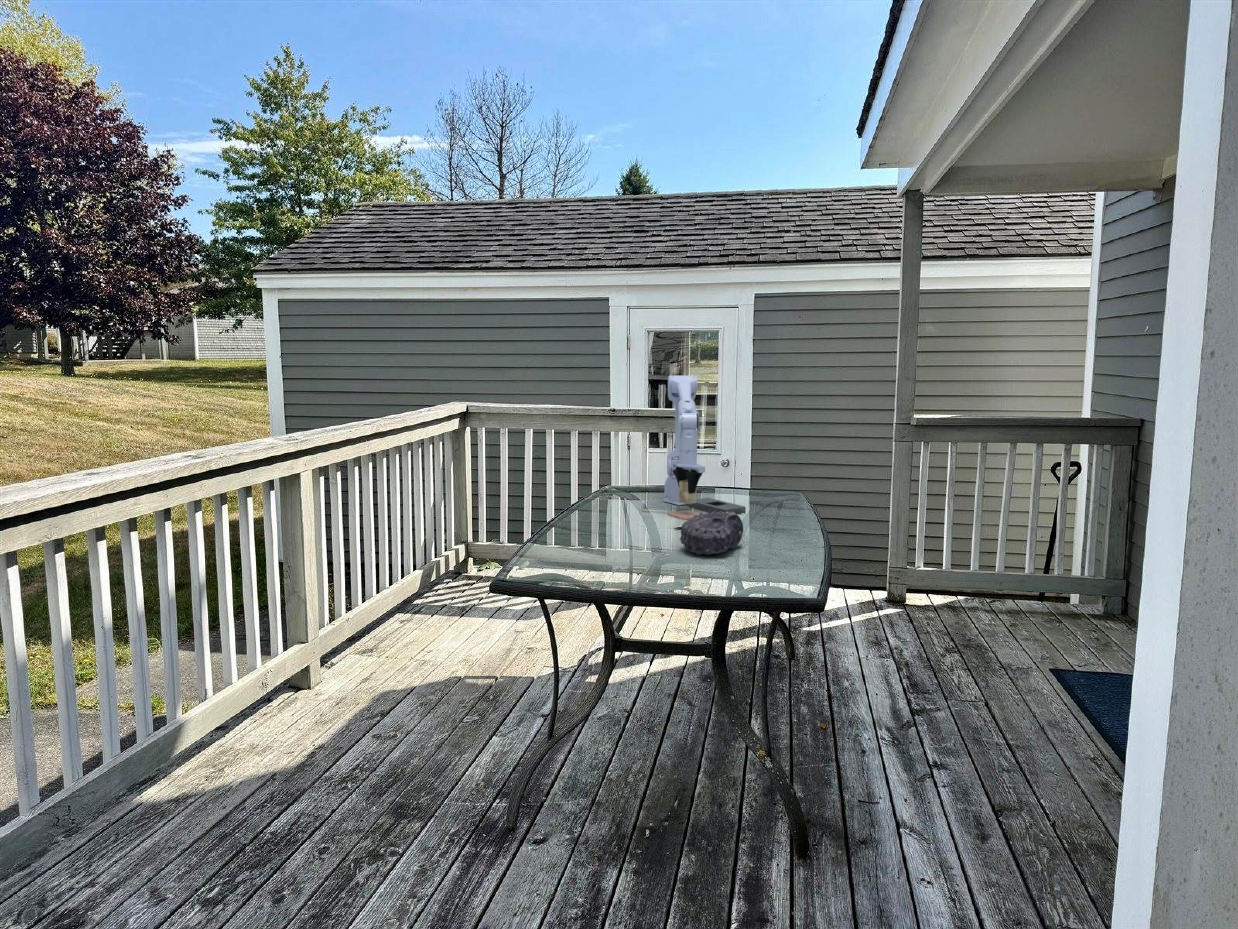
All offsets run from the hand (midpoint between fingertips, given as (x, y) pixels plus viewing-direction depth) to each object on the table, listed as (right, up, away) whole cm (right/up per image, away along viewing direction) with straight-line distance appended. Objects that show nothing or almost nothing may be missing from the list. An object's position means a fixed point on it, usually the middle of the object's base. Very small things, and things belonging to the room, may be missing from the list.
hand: (687, 492), depth 274 cm
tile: (0, -8, +1) cm, 8 cm away
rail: (+11, -6, +10) cm, 16 cm away
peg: (0, -3, +1) cm, 3 cm away
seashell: (+4, -15, -41) cm, 44 cm away
